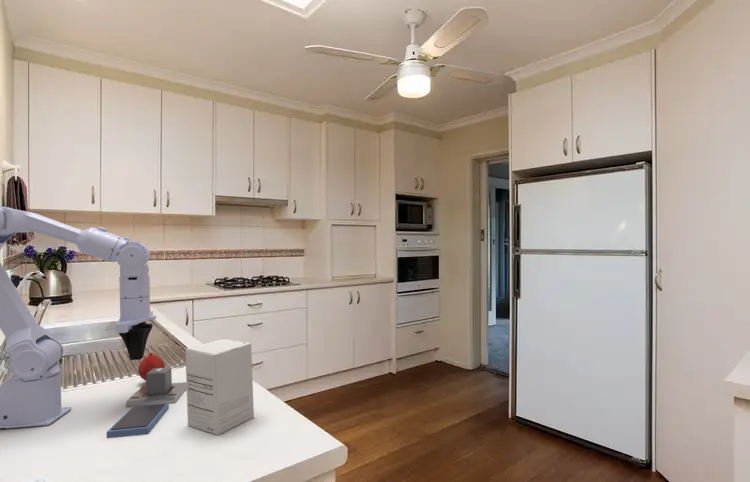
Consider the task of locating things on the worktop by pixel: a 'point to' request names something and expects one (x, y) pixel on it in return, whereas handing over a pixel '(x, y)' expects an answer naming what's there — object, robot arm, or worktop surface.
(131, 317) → the robot arm
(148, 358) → the onion
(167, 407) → the phone
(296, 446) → the worktop surface
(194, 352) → the supplement box
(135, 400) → the plate
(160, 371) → the block
